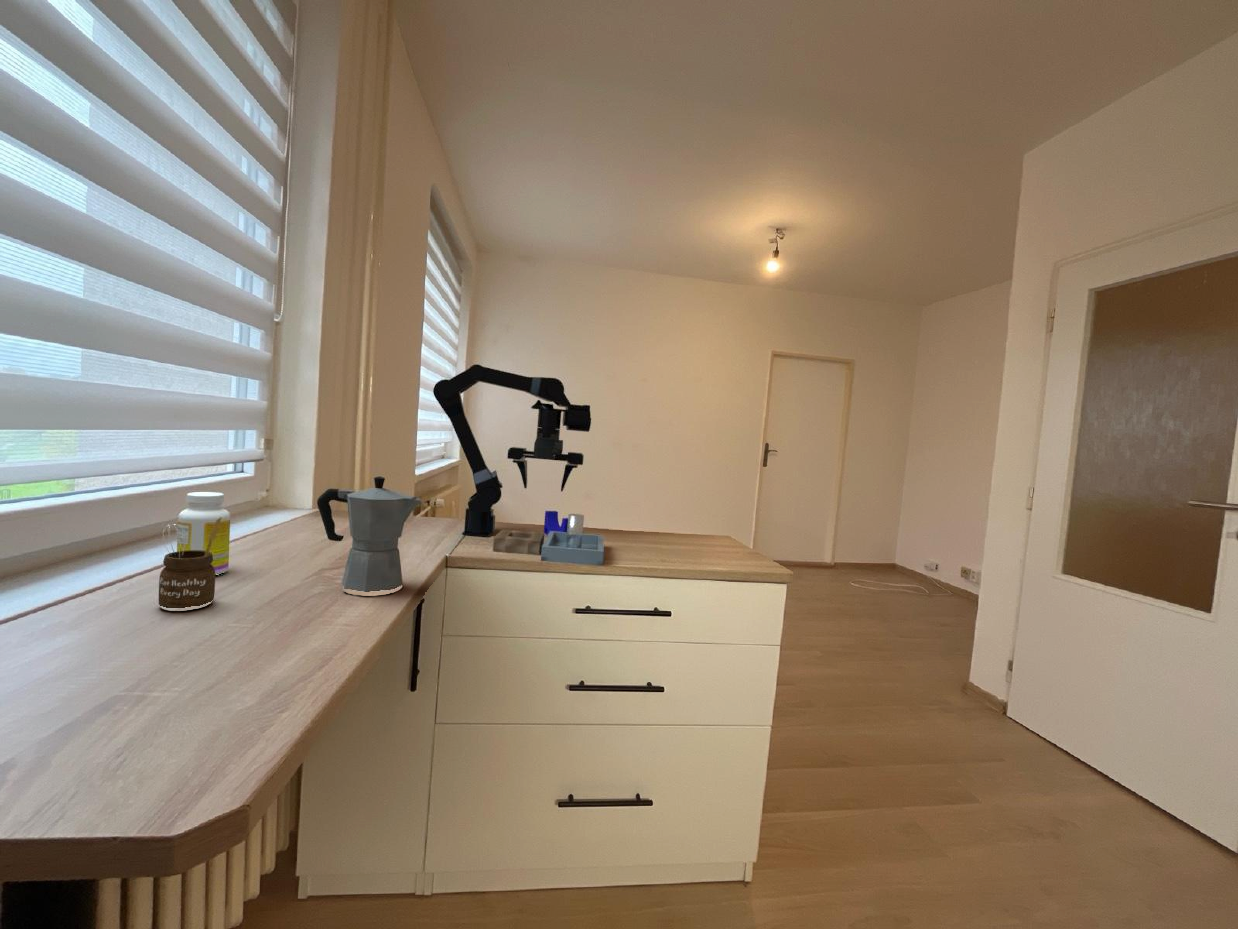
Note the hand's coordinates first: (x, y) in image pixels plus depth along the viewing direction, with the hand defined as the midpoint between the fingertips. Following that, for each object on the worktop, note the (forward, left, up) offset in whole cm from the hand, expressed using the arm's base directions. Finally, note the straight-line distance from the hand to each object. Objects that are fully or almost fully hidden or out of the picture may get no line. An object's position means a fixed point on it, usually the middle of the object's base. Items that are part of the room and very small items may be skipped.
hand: (543, 489), depth 139 cm
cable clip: (+5, +1, -12) cm, 14 cm away
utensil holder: (-40, -65, -12) cm, 77 cm away
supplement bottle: (-48, -51, -12) cm, 71 cm away
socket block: (-3, -15, -12) cm, 19 cm away
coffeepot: (-22, -52, -12) cm, 58 cm away
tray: (+9, -16, -12) cm, 22 cm away
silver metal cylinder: (+9, -16, -11) cm, 22 cm away
